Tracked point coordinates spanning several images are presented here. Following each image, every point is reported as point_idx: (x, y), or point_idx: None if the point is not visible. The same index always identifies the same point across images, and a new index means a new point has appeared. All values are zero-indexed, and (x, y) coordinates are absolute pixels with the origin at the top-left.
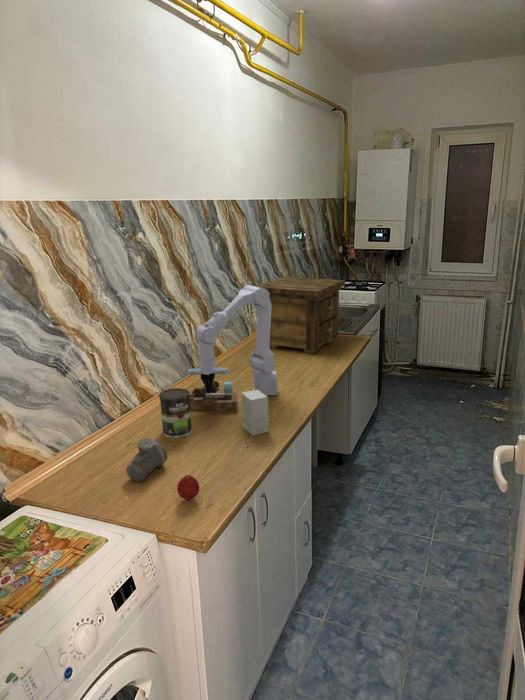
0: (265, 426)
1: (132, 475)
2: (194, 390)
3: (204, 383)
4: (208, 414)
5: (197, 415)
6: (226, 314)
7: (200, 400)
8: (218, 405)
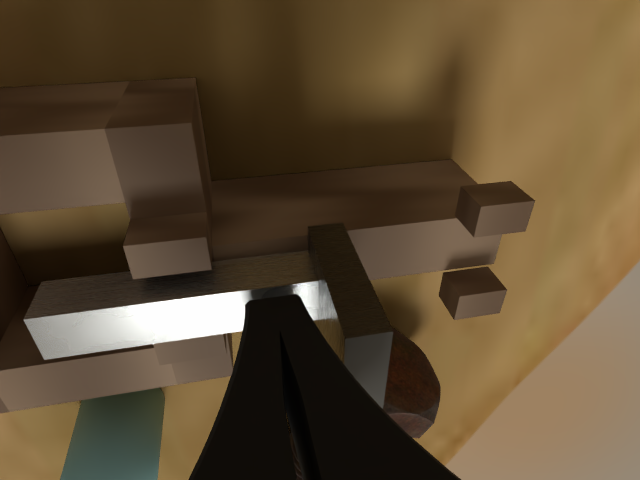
0: None
1: None
2: (429, 404)
3: (385, 430)
4: (243, 27)
5: (375, 4)
6: None
7: (370, 220)
8: (100, 114)
